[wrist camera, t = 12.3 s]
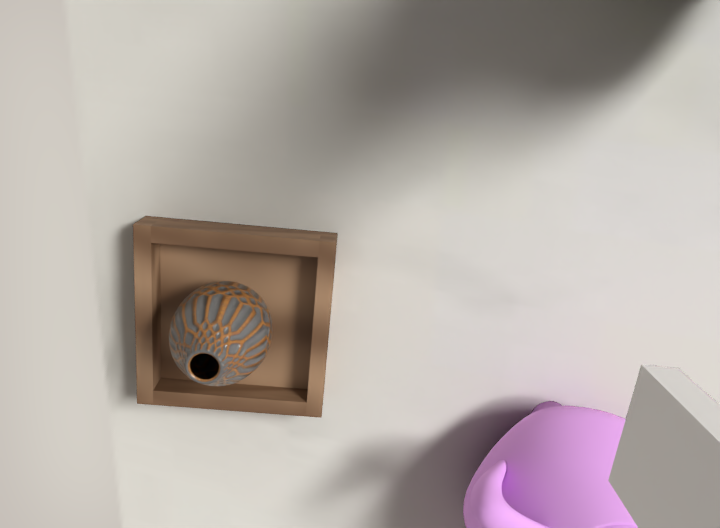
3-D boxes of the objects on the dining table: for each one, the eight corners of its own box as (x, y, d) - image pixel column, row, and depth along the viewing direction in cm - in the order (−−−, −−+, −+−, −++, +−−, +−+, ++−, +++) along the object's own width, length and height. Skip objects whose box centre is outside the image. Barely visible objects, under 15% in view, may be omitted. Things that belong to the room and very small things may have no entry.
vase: (180, 344, 44) (141, 405, 36) (192, 261, 42) (153, 305, 34) (269, 361, 45) (250, 425, 36) (285, 279, 43) (269, 327, 34)
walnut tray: (146, 216, 42) (133, 224, 39) (337, 233, 42) (336, 242, 40) (148, 386, 46) (137, 403, 43) (322, 399, 47) (321, 417, 44)
